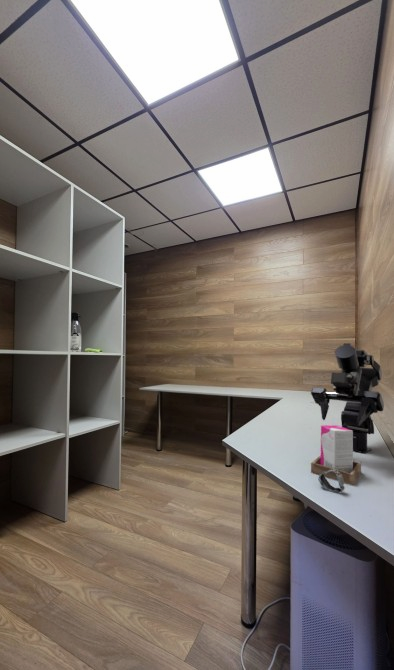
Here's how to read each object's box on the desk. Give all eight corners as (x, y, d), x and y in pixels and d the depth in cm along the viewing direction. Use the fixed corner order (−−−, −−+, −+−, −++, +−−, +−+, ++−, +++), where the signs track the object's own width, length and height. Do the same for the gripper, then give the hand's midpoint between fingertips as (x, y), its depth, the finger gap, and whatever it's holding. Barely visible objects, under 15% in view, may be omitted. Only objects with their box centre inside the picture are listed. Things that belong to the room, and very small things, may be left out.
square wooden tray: (322, 462, 79) (322, 453, 79) (361, 472, 72) (360, 463, 73) (311, 472, 72) (311, 462, 72) (352, 485, 65) (352, 474, 65)
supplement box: (354, 475, 70) (353, 430, 71) (334, 476, 69) (333, 430, 70) (338, 465, 76) (338, 424, 76) (319, 466, 75) (319, 424, 75)
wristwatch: (334, 494, 64) (319, 473, 66) (351, 486, 61) (334, 464, 63) (328, 499, 62) (313, 478, 64) (345, 491, 59) (329, 469, 61)
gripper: (311, 362, 88) (298, 400, 80) (378, 363, 75) (371, 408, 67) (321, 384, 93) (310, 422, 85) (386, 388, 80) (380, 434, 71)
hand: (339, 421), depth 77 cm, fingers open, 9 cm apart
